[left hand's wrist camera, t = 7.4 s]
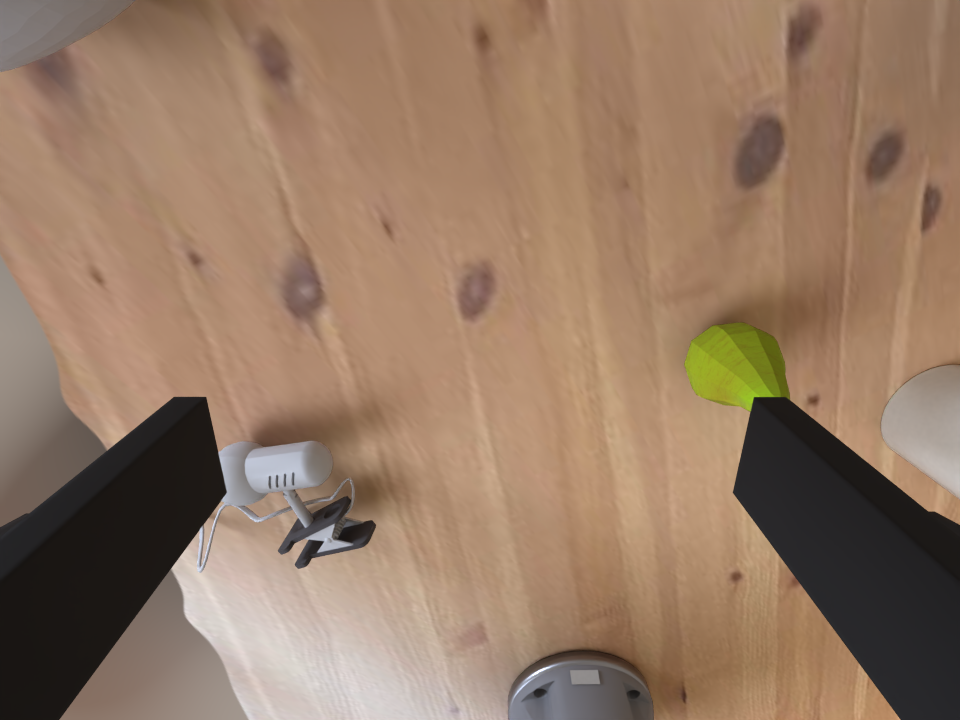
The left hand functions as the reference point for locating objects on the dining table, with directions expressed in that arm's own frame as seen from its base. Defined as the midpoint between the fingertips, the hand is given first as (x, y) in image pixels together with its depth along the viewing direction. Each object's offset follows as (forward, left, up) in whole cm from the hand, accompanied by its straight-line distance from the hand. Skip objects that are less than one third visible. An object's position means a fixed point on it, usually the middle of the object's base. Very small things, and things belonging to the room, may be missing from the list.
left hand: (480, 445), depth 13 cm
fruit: (-7, -19, -27) cm, 34 cm away
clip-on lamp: (-21, +18, -27) cm, 39 cm away
